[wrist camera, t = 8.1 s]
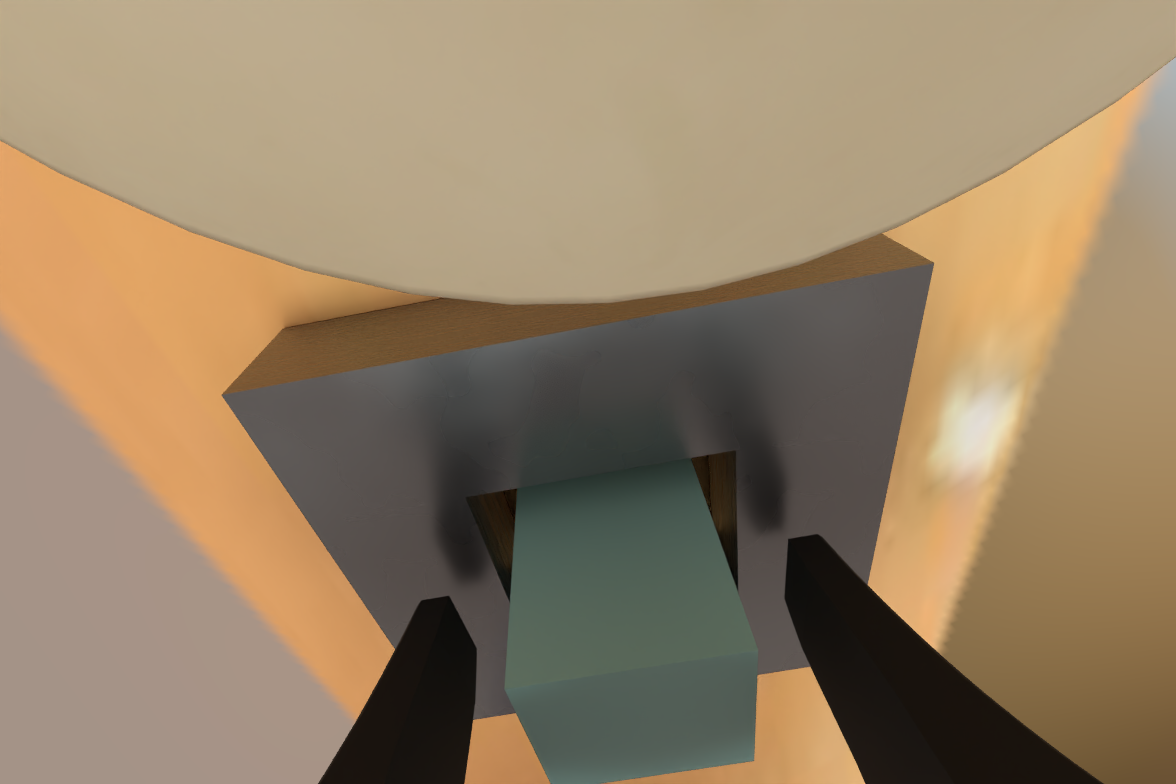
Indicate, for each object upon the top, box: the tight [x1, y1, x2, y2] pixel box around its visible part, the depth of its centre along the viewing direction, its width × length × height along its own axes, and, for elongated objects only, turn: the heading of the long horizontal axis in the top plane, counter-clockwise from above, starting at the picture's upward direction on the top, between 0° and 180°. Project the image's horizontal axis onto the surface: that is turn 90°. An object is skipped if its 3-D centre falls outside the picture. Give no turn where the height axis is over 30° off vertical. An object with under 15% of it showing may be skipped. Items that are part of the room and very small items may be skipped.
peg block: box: [504, 458, 758, 784], centre depth 12 cm, size 4×4×6 cm
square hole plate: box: [222, 234, 934, 720], centre depth 13 cm, size 12×12×2 cm
